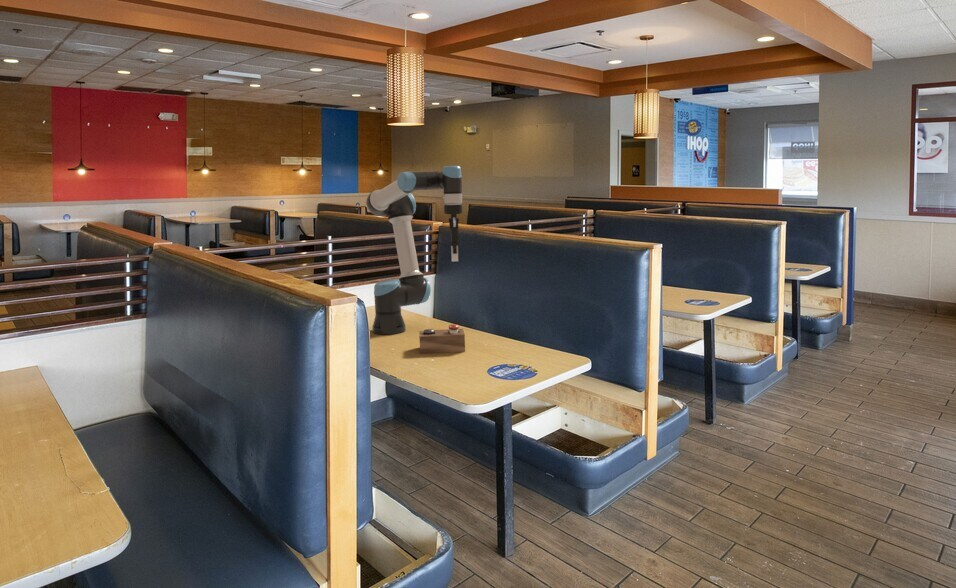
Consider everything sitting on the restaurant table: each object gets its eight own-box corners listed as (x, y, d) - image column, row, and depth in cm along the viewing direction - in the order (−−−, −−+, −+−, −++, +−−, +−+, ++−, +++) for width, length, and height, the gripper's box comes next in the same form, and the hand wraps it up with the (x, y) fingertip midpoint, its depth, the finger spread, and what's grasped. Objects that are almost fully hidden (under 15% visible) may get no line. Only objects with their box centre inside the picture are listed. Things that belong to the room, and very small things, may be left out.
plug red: (448, 342, 268) (448, 324, 266) (459, 341, 268) (458, 324, 267) (449, 345, 264) (448, 327, 262) (459, 344, 264) (459, 326, 262)
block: (420, 347, 270) (419, 330, 269) (463, 345, 271) (462, 328, 270) (420, 353, 260) (419, 336, 259) (465, 351, 262) (464, 334, 260)
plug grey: (424, 347, 267) (423, 329, 266) (434, 346, 267) (434, 328, 266) (424, 349, 263) (424, 331, 262) (435, 349, 263) (434, 331, 262)
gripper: (443, 203, 273) (445, 259, 278) (444, 205, 261) (446, 263, 265) (461, 203, 274) (462, 258, 278) (463, 204, 261) (465, 262, 266)
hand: (454, 261), depth 272 cm, fingers closed
